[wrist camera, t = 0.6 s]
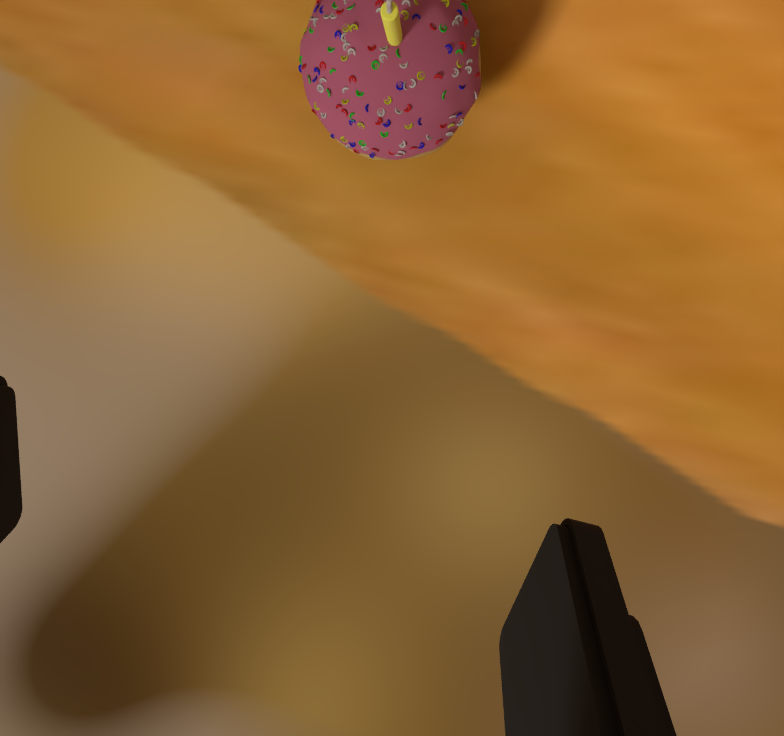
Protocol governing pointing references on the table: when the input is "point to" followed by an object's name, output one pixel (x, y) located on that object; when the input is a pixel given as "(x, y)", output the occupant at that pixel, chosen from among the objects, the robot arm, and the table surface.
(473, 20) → the cupcake
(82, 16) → the table surface
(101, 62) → the table surface
